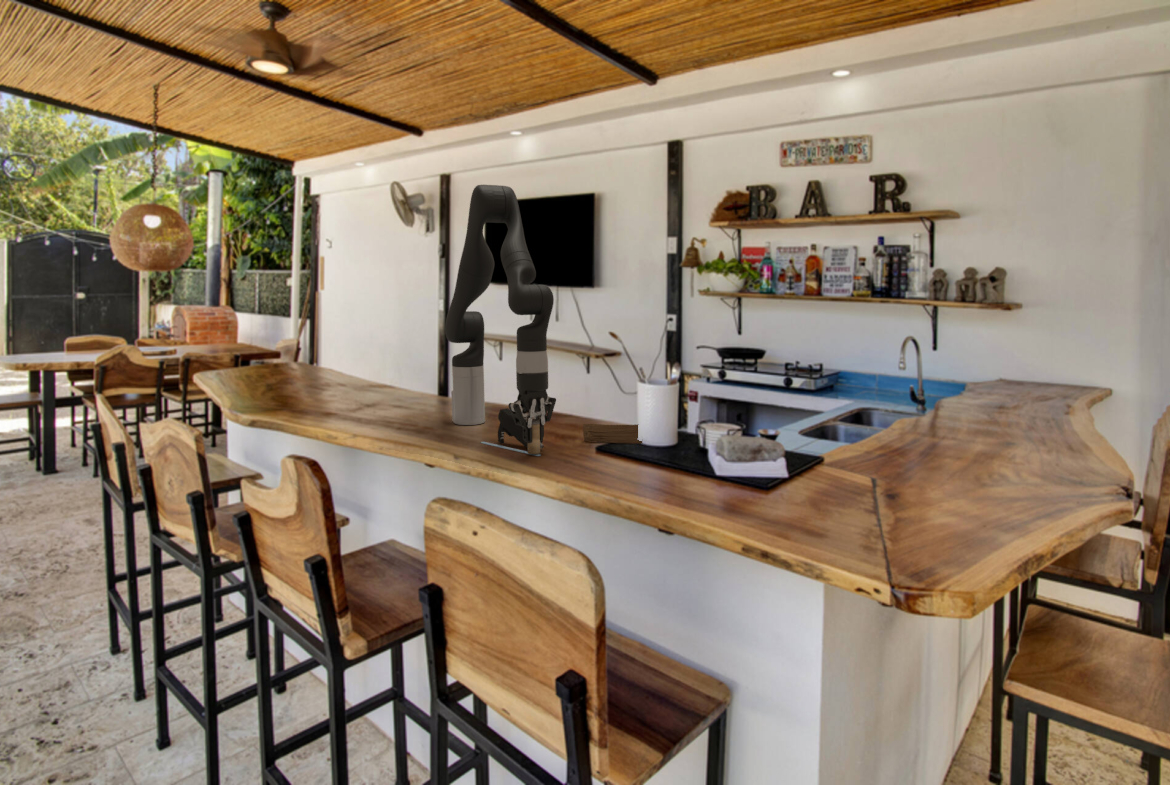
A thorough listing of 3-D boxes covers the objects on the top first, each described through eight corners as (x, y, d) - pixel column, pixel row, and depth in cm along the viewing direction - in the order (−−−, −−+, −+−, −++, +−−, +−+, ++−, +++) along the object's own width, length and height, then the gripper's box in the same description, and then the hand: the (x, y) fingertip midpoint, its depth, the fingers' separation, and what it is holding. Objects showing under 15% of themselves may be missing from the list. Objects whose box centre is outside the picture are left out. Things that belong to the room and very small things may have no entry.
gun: (528, 471, 172) (541, 439, 168) (488, 435, 180) (500, 403, 176) (536, 469, 174) (549, 437, 170) (496, 433, 182) (508, 402, 178)
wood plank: (642, 442, 179) (642, 423, 178) (642, 444, 177) (642, 425, 176) (584, 441, 181) (583, 422, 180) (582, 442, 179) (582, 424, 178)
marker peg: (524, 452, 166) (524, 420, 165) (534, 450, 168) (533, 418, 167) (533, 454, 164) (532, 421, 163) (543, 452, 166) (542, 420, 165)
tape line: (480, 442, 179) (480, 442, 179) (483, 442, 180) (483, 441, 180) (537, 456, 164) (537, 455, 164) (540, 455, 165) (540, 454, 165)
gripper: (543, 366, 171) (544, 434, 173) (499, 371, 161) (500, 443, 163) (564, 368, 166) (565, 439, 168) (520, 373, 156) (521, 448, 158)
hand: (533, 441), depth 166 cm, fingers closed on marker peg, 3 cm apart
